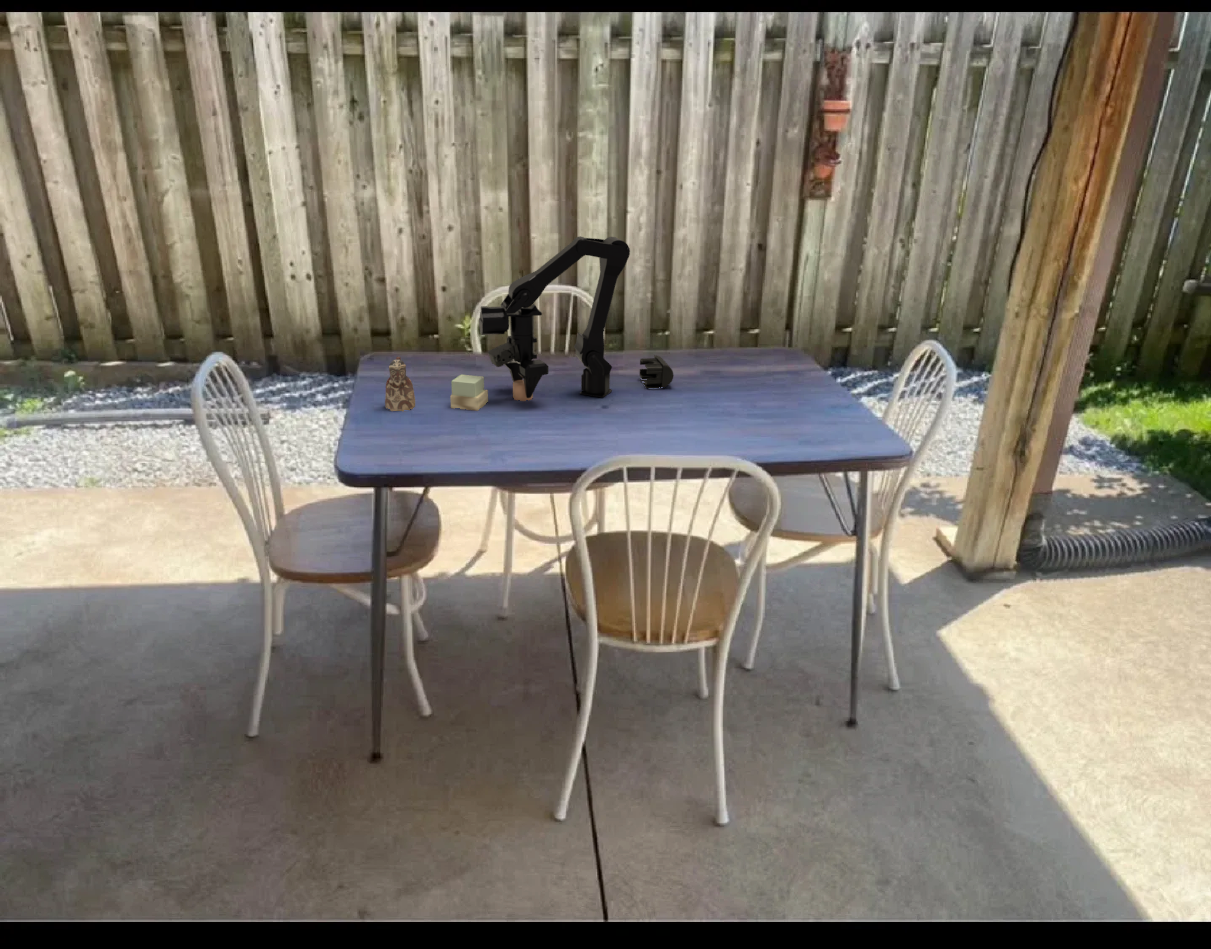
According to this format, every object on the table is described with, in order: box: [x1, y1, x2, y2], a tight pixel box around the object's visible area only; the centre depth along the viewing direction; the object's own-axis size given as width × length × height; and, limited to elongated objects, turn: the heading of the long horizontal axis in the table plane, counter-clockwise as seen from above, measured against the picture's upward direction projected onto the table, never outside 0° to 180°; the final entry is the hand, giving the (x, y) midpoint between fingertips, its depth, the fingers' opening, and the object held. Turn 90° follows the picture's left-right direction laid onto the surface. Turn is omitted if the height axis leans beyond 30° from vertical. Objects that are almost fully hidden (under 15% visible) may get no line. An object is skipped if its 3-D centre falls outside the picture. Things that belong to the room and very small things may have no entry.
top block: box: [450, 374, 485, 397], centre depth 213 cm, size 6×6×4 cm
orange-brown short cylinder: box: [512, 379, 534, 402], centre depth 221 cm, size 5×5×4 cm
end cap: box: [639, 354, 674, 389], centre depth 234 cm, size 10×7×7 cm
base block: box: [450, 389, 489, 412], centre depth 215 cm, size 7×7×4 cm
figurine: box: [384, 356, 416, 412], centre depth 210 cm, size 7×7×12 cm
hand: (523, 393), depth 221 cm, fingers open, 7 cm apart
